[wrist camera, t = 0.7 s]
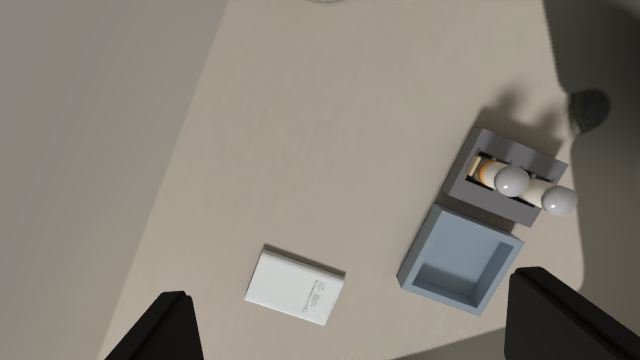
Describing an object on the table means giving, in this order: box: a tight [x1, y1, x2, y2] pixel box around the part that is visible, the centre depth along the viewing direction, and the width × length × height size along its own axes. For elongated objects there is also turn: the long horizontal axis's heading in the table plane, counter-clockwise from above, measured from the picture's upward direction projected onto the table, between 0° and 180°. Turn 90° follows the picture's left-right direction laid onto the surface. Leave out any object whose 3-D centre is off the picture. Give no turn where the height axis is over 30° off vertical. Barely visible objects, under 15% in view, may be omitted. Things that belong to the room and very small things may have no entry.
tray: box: [396, 203, 525, 316], centre depth 42 cm, size 12×12×3 cm
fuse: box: [515, 176, 577, 216], centre depth 37 cm, size 3×3×8 cm
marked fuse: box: [467, 155, 529, 197], centre depth 36 cm, size 3×3×8 cm
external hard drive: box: [244, 249, 345, 326], centre depth 44 cm, size 2×8×12 cm
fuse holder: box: [441, 127, 569, 228], centre depth 39 cm, size 9×12×4 cm
